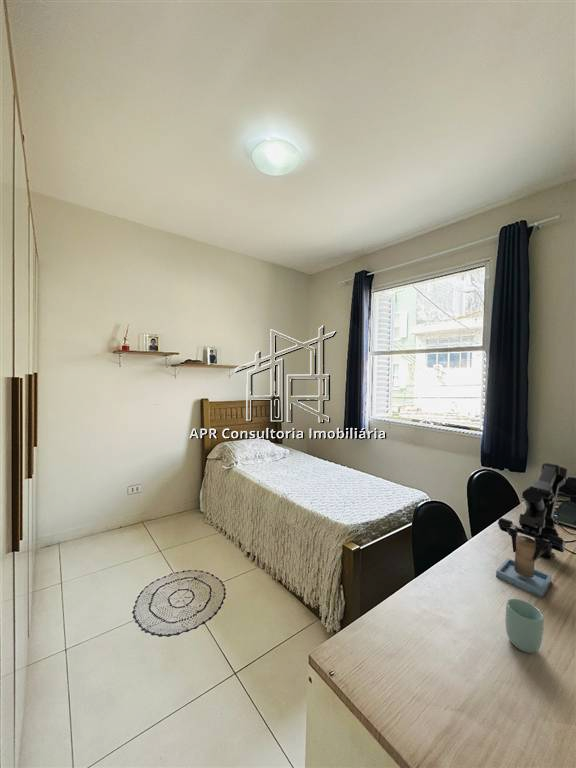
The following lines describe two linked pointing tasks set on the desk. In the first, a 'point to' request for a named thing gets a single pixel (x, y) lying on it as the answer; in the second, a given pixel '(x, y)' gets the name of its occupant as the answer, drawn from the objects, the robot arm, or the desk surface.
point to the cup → (524, 625)
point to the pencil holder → (525, 556)
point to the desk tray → (524, 578)
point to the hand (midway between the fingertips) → (523, 555)
